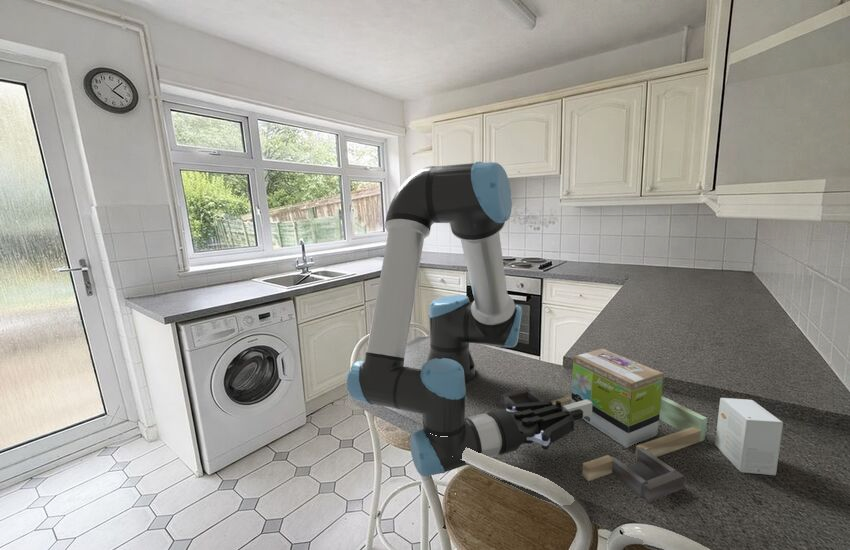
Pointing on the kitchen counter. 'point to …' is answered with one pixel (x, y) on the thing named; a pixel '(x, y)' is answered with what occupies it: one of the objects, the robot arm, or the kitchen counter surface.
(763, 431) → the small box
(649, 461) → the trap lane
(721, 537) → the kitchen counter surface
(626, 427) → the tea box
